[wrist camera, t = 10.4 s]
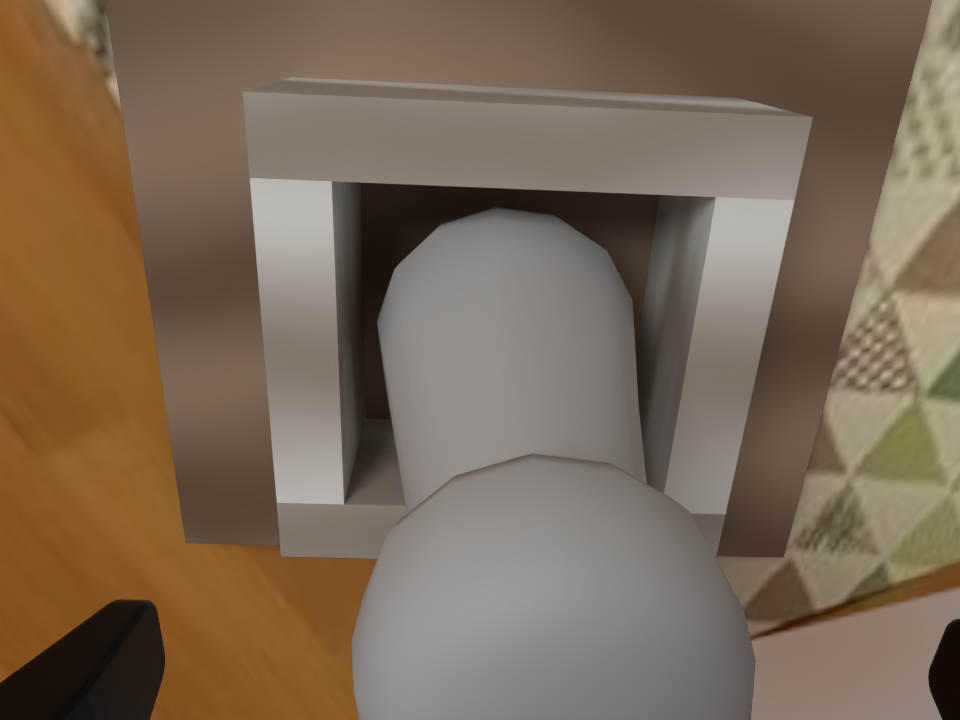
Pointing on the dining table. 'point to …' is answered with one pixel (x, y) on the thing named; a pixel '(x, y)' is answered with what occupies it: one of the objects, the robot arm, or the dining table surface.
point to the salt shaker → (533, 502)
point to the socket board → (509, 184)
